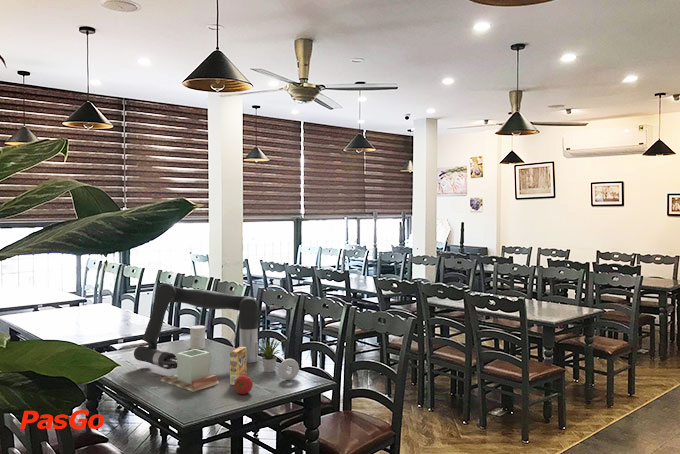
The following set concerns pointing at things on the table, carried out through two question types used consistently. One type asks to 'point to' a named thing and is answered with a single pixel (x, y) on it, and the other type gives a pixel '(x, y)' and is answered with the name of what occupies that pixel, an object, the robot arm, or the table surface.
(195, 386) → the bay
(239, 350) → the candy box
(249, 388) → the tomato
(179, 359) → the square container
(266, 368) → the house plant
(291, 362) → the donut
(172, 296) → the robot arm
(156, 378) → the table surface
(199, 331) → the cup
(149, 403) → the table surface
